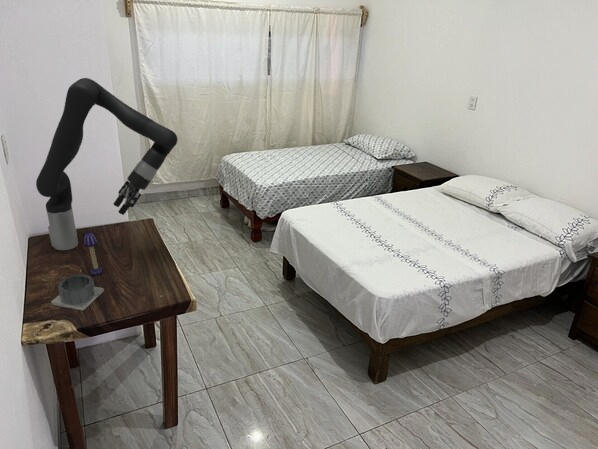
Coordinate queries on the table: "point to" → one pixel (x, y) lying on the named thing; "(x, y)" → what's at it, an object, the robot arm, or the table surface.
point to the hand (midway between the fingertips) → (118, 209)
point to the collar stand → (77, 292)
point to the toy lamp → (92, 252)
